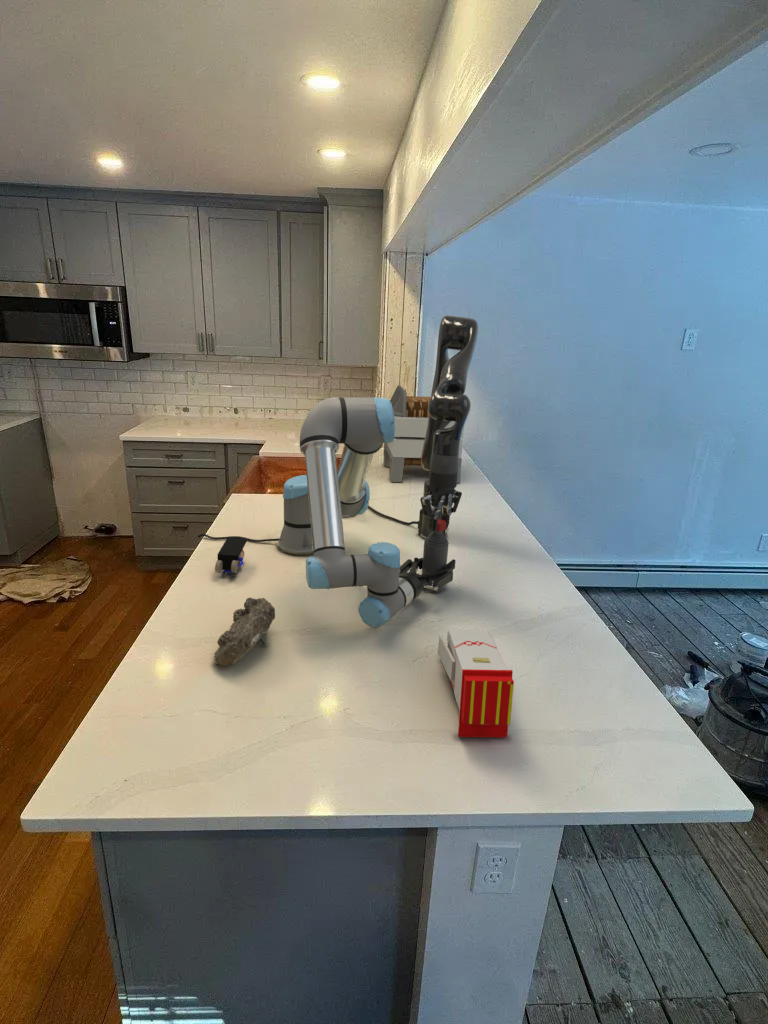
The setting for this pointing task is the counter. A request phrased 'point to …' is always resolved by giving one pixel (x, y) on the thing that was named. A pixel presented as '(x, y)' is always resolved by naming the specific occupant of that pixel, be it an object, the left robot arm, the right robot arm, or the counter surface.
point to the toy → (478, 682)
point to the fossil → (245, 630)
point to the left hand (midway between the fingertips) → (442, 560)
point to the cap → (441, 525)
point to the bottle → (435, 554)
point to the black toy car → (230, 556)
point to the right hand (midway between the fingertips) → (438, 528)
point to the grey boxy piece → (409, 433)
